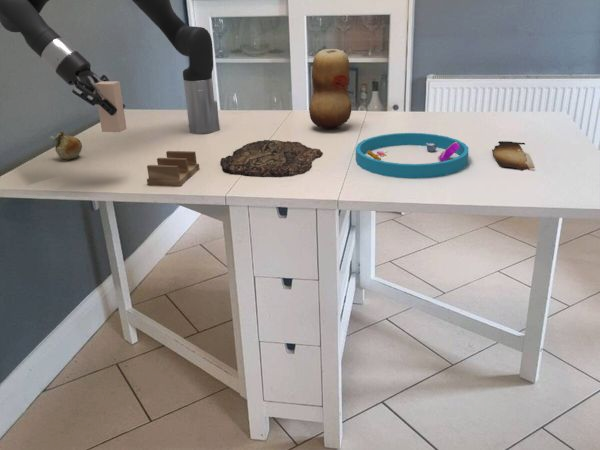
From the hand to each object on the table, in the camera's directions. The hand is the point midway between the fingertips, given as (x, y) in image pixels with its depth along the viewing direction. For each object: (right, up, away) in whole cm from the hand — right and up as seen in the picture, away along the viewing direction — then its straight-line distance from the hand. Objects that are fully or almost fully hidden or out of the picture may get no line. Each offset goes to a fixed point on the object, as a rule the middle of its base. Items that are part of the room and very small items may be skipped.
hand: (118, 110), depth 148 cm
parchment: (+103, -10, +13) cm, 105 cm away
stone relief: (+38, -11, +19) cm, 44 cm away
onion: (-23, -9, +27) cm, 36 cm away
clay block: (-2, -4, +2) cm, 5 cm away
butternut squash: (+56, +3, +46) cm, 73 cm away
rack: (+12, -16, +8) cm, 22 cm away
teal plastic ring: (+76, -11, +13) cm, 78 cm away
